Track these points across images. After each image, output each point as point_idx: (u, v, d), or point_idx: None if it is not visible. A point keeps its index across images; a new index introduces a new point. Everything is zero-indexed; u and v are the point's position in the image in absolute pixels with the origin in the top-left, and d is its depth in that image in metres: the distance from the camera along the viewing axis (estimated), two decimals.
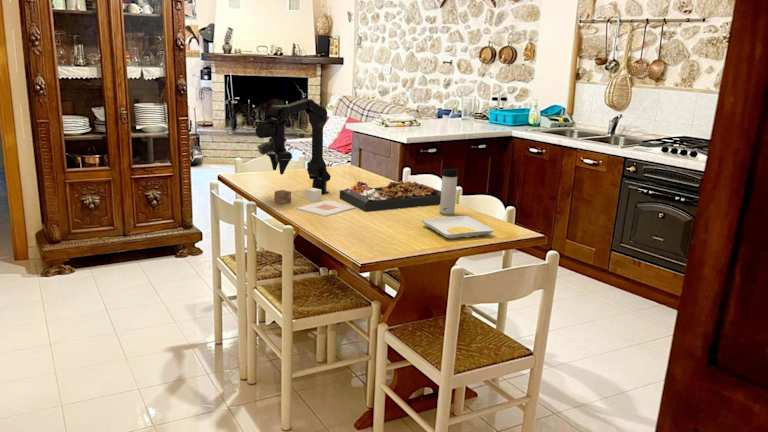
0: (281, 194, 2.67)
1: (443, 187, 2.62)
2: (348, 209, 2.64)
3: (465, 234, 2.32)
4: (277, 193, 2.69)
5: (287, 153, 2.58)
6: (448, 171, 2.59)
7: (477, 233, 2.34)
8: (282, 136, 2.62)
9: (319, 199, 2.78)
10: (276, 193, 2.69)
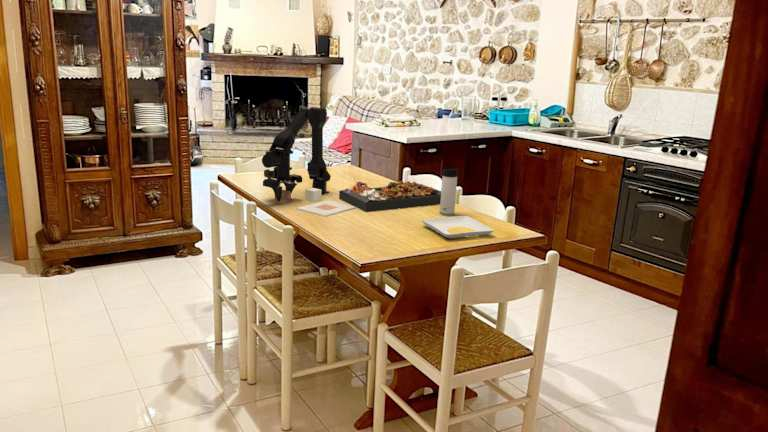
0: (281, 194, 2.67)
1: (443, 187, 2.62)
2: (348, 209, 2.64)
3: (465, 234, 2.32)
4: None
5: (269, 181, 2.61)
6: (448, 171, 2.59)
7: (477, 233, 2.34)
8: (280, 165, 2.64)
9: (319, 199, 2.78)
10: None
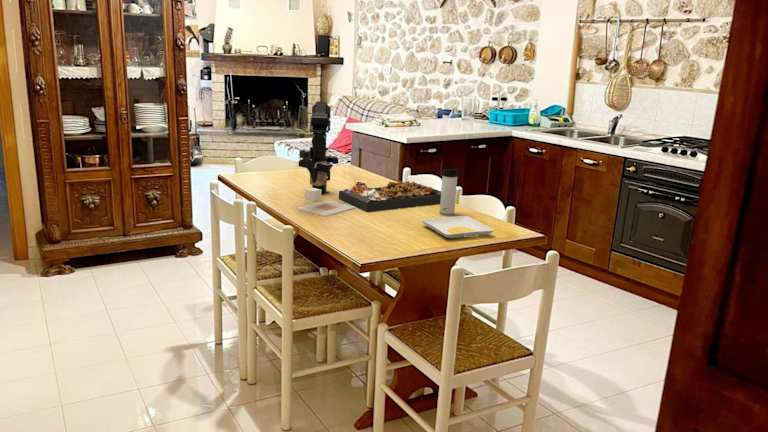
0: (317, 175, 2.59)
1: (443, 187, 2.62)
2: (348, 209, 2.64)
3: (465, 234, 2.32)
4: None
5: (305, 161, 2.53)
6: (448, 171, 2.59)
7: (477, 233, 2.34)
8: None
9: (319, 199, 2.78)
10: None
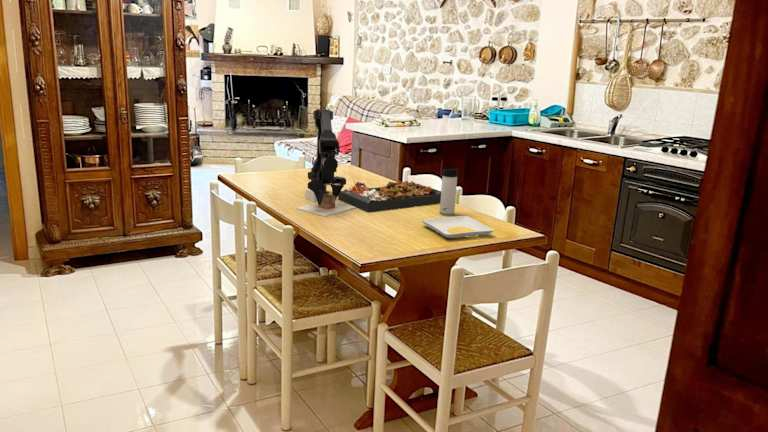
0: (326, 198, 2.61)
1: (443, 187, 2.62)
2: (348, 209, 2.64)
3: (465, 234, 2.32)
4: None
5: (314, 184, 2.54)
6: (448, 171, 2.59)
7: (477, 233, 2.34)
8: None
9: None
10: None
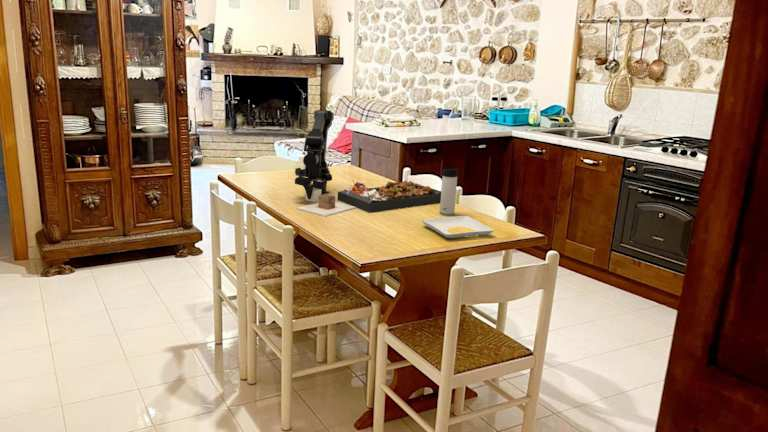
0: (326, 198, 2.61)
1: (443, 187, 2.62)
2: (348, 209, 2.64)
3: (465, 234, 2.32)
4: (321, 197, 2.62)
5: (301, 179, 2.68)
6: (448, 171, 2.59)
7: (477, 233, 2.34)
8: None
9: None
10: (320, 197, 2.62)
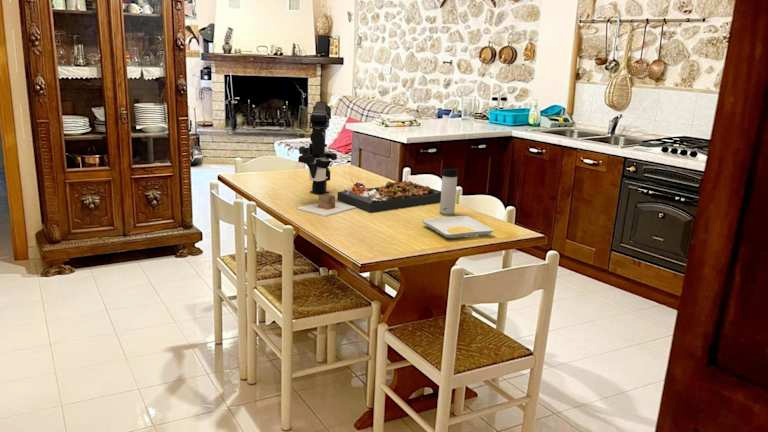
0: (326, 198, 2.61)
1: (443, 187, 2.62)
2: (348, 209, 2.64)
3: (465, 234, 2.32)
4: (321, 197, 2.62)
5: (304, 157, 2.61)
6: (448, 171, 2.59)
7: (477, 233, 2.34)
8: None
9: (323, 178, 2.71)
10: (320, 197, 2.62)
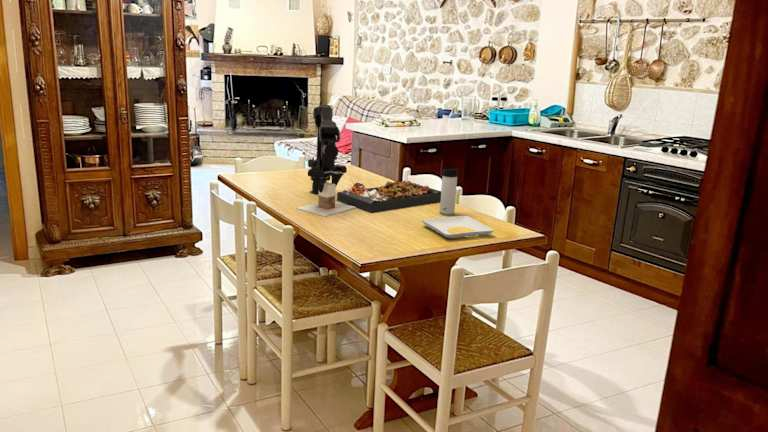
0: (326, 198, 2.61)
1: (443, 187, 2.62)
2: (348, 209, 2.64)
3: (465, 234, 2.32)
4: (321, 197, 2.62)
5: (314, 171, 2.53)
6: (448, 171, 2.59)
7: (477, 233, 2.34)
8: None
9: (333, 194, 2.63)
10: (320, 197, 2.62)
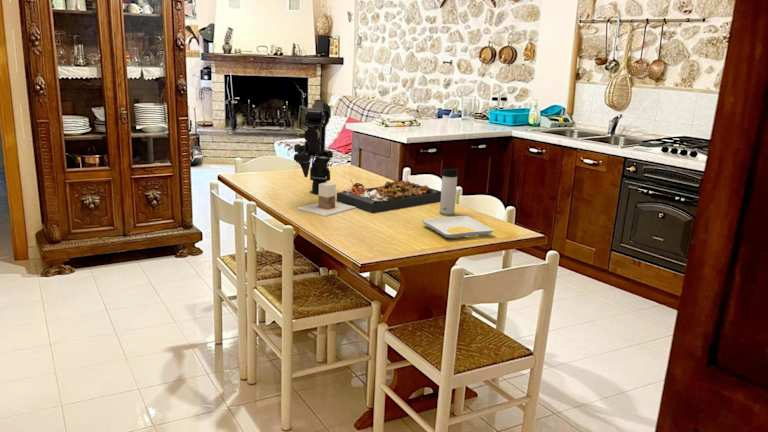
0: (326, 198, 2.61)
1: (443, 187, 2.62)
2: (348, 209, 2.64)
3: (465, 234, 2.32)
4: (321, 197, 2.62)
5: (300, 155, 2.56)
6: (448, 171, 2.59)
7: (477, 233, 2.34)
8: None
9: (333, 194, 2.63)
10: (320, 197, 2.62)
